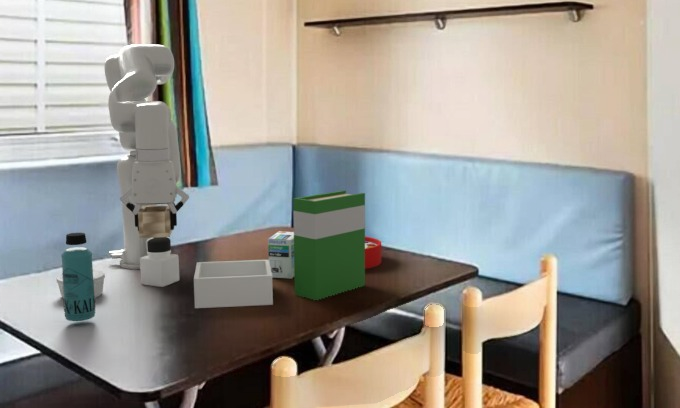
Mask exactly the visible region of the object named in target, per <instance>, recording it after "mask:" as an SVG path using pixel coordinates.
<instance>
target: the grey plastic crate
mask: <svg viewBox="0 0 680 408" xmlns="http://www.w3.org/2000/svg"><path fill="white" fill-rule="evenodd" d="M194 271H195V272H194V276H193V294H194V295H193V296H194V309H207V308H208V309H209V308H210V309H212V308H229V307H233V308H235V307H250V306H251V307H252V306H270V305H271V306H273V305H274V299H273V298H274V297H273V296H274V293H273V278H272V272H271V267H270V263H269V259H249V260H247V259H246V260H245V259H244V260H228V261H227V260H224V261H223V260H222V261H221V260H220V261H199V262H198V261H196V266H195V270H194Z"/></svg>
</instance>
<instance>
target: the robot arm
mask: <svg viewBox="0 0 680 408" xmlns="http://www.w3.org/2000/svg"><path fill="white" fill-rule="evenodd" d="M103 67H104V76H105V80H106V84H107V87H108V89H109V91H110V93H109V95H108V105H107V107H108V111H109V113H108V114H109V119H110V123H111V126H112V127H113V129H114V130H115V131H116V132H118V137H119V143H120V145H121V147H122V149H124V150H125V151H128V152H129V154H128V155H125V156H123V157H121V158H120V159H119V160H118V161H117V164H116V175H117V177H118V178H117V179H118V185H119V188H120V189H119V190H120V196H121V197H120V198H119V200H120V202H121V206H122V207H121V210H122V211H121V212H122V225H123V245H124V248H123V249H120V250H109V252H108V257H109V258H111V259H112V260H113V259H114V260H115V259H120V260H119V267H122V268H124V269H129V270H130V269H131V270H140V258H141V257H144V256H147V255H148V254H147V240H148V239H150V238H139V222H138V212H139V211H140V209H141V208H142V206H158V205H168V206H169V208H170V210H171V213H170V226H171V230H172V231H174V230H175V227H177V225H178V219H177V212H178V211H179V210H180V209H182V207H183V206H184V205H185V204H186V203H187V201H188V200H189V198H190V195H189V194H188V193H186V191H184V190H183V189H181V188H180V187H178V186H177V185H178V184H179V183H180V181H181V177H182V169H181V168H182V167H181V160H180V152H179V151H180V150H179V149H180V148H179V142H178V133H177V132H178V131H177V129H176V128H177V127H176V125H175V123H174V121H173V120H172V113H171V109H170V107H168V104H167V103H165V102H164V101H160V100H149V101H148V100H146V99H147V98H148V97H150V96H152V95H153V93H154V92H155V91H156V89H157V86H158V85H164V84H166V83H167V82H168V81H169V79H170V78H171V77H172V75H173V73H174V70H175V59H174V54H173V52H172V50H171V49H170V48H169V47H168V46H166V45H162V44H130V45H126V46H124V47H123V48H121V49H120V51H119V53H118V54H114V55H110V56H109V57H107V58H106V60H105V62H104V66H103ZM177 196H179V197H180V198H181V199H180V200H179V201H178V202H177V203H176V202H175V201H176V199H177Z"/></svg>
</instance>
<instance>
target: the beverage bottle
mask: <svg viewBox="0 0 680 408" xmlns="http://www.w3.org/2000/svg"><path fill="white" fill-rule="evenodd" d="M86 243H87V237H86V233H85V232H70V233H67V234H66V236H65V245H68V246H77V247H70V248H66V249H65V250H64V251H63V252H62V253H61V266H62V267H61V268H62V269H61V270H62V272H61V274H63V286H62V287H63V291H64V298H63V312H64V318H65V320H67V321H70V322H83V321H88V320H91V319H93V318H94V317H95V316H96V304H95V303H96V298H94V297H95V296H94V288H95V287H94V281H93V270H94V269H93V268H94V266H93V253H92V251H91V250H90V249H89V248H87V247H81V246H79V245H83V244H84V245H85V244H86Z"/></svg>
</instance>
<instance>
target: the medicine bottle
mask: <svg viewBox="0 0 680 408" xmlns="http://www.w3.org/2000/svg"><path fill="white" fill-rule="evenodd" d="M171 242H172V241H171V238H170V237H156V238H150V239H148V240H147V254H148V255H147V256H144V257H141V258H140V269H139V271H140V284H141V285H144V286H151V287H156V288H157V287H159V288H164V287H167V286H170V285H171V284H174V283H177V282H179V281H180V264H179V263H180V262H179V255H178V254H175V253H172V247H171V246H172V245H171V244H172V243H171Z"/></svg>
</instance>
